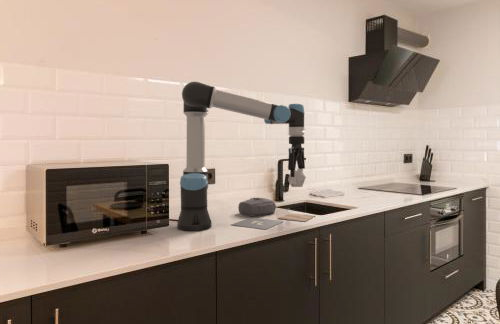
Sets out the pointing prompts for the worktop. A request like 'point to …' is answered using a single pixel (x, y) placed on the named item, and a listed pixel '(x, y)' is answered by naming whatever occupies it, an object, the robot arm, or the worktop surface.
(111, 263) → the worktop surface
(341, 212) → the worktop surface
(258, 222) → the tile
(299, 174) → the die
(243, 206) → the grey rounded bag
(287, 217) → the walnut pad
